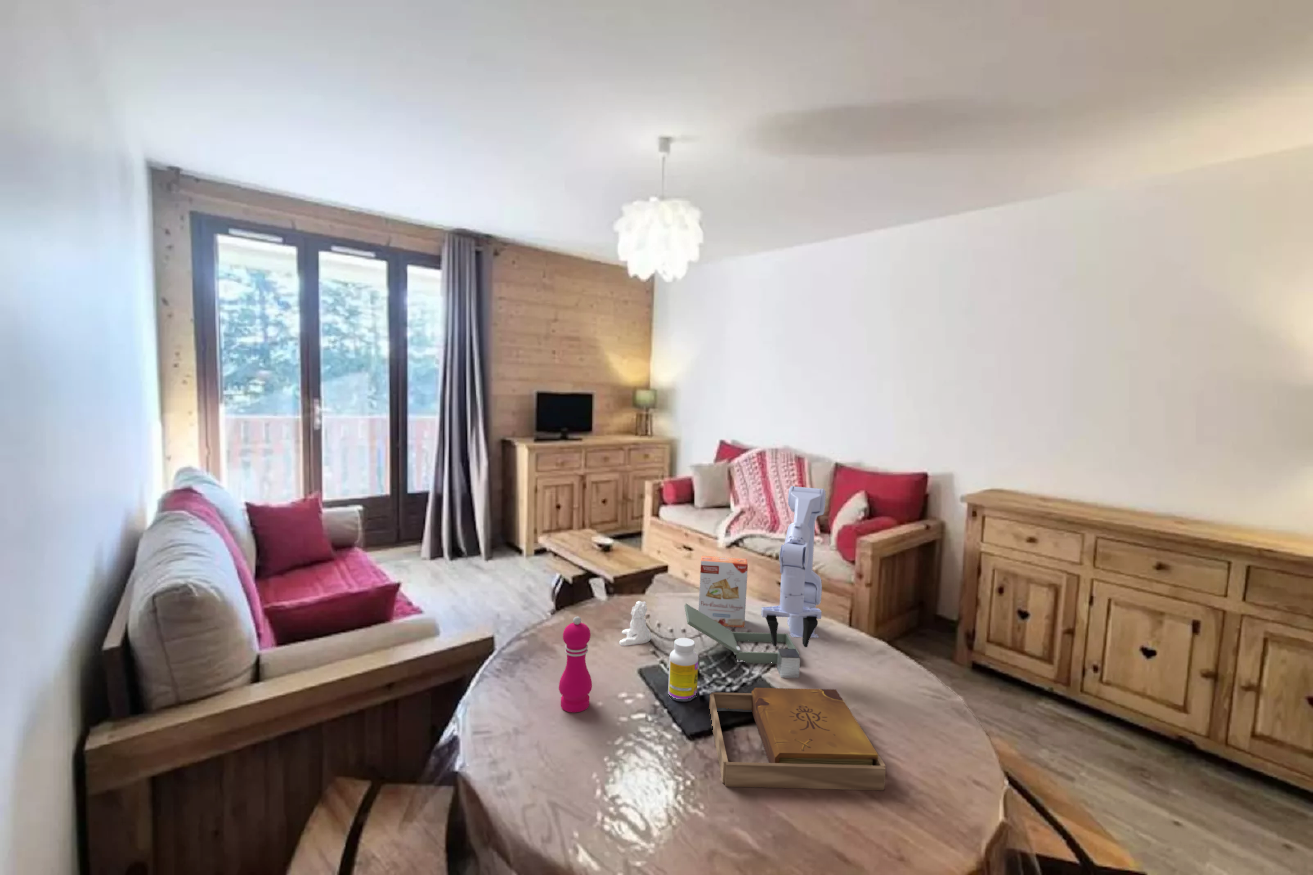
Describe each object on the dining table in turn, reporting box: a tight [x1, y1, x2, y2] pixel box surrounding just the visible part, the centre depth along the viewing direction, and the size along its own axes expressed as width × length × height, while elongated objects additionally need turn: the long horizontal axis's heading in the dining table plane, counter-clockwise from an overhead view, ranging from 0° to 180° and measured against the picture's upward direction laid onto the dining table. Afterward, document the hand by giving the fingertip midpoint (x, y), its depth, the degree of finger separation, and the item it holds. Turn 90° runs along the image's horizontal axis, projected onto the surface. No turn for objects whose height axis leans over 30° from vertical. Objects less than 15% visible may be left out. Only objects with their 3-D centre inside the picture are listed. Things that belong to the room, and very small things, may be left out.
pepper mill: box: [558, 616, 593, 713], centre depth 126 cm, size 7×7×20 cm
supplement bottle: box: [667, 637, 699, 699], centre depth 131 cm, size 7×7×13 cm
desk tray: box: [708, 691, 887, 791], centre depth 114 cm, size 25×29×4 cm
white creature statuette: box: [618, 600, 652, 647], centre depth 159 cm, size 10×9×12 cm
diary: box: [750, 687, 879, 766], centre depth 115 cm, size 23×19×6 cm
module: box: [776, 648, 801, 679], centre depth 143 cm, size 4×4×6 cm
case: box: [684, 603, 800, 665], centre depth 154 cm, size 13×29×11 cm, turn 91°
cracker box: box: [698, 555, 749, 628], centre depth 172 cm, size 14×6×21 cm, turn 83°
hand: (789, 645), depth 142 cm, fingers open, 7 cm apart
